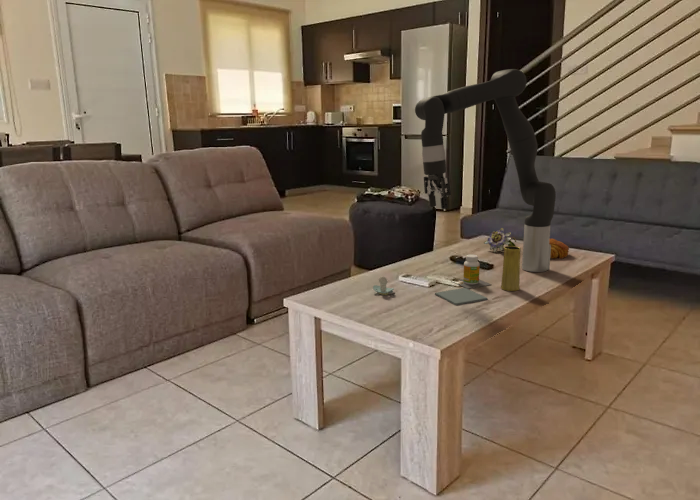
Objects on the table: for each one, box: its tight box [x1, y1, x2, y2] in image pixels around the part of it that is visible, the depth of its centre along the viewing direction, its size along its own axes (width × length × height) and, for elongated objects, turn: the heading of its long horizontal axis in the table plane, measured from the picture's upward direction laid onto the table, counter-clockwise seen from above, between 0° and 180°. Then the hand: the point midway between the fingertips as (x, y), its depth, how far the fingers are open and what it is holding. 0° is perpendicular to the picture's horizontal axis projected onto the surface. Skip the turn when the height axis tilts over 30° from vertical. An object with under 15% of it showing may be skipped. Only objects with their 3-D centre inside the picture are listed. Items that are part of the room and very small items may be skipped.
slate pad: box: [434, 287, 488, 306], centre depth 176 cm, size 12×12×1 cm
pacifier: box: [372, 275, 396, 296], centre depth 182 cm, size 7×6×6 cm
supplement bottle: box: [462, 254, 481, 285], centre depth 190 cm, size 5×5×10 cm
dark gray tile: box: [459, 278, 492, 290], centre depth 191 cm, size 10×10×1 cm
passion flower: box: [483, 227, 517, 253], centre depth 236 cm, size 11×11×12 cm
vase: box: [500, 245, 521, 292], centre depth 183 cm, size 6×6×14 cm
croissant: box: [549, 238, 570, 260], centre depth 227 cm, size 14×16×8 cm
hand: (438, 207), depth 184 cm, fingers open, 8 cm apart
